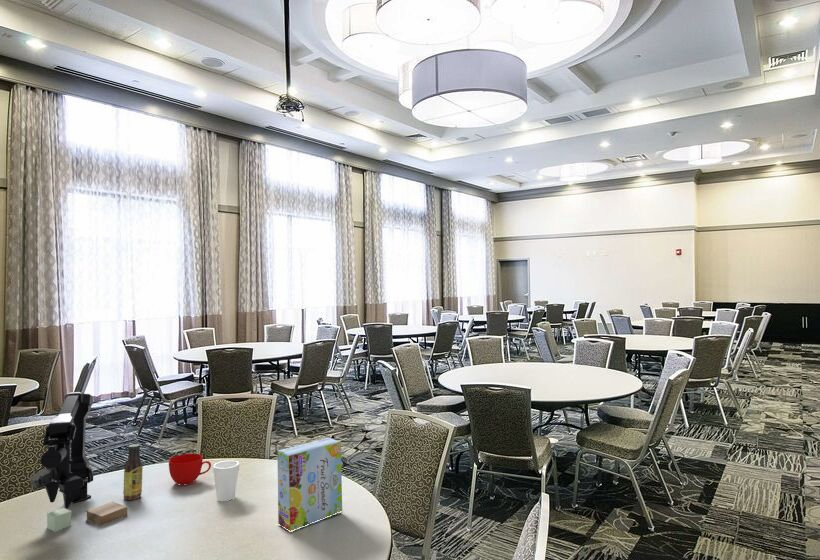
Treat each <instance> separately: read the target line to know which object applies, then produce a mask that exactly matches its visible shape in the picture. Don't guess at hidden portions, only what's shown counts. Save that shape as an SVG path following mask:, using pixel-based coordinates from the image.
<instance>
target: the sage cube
mask: <svg viewBox="0 0 820 560" xmlns="http://www.w3.org/2000/svg"><path fill="white" fill-rule="evenodd" d="M46 514H47V515H46V516H47V517H46V523H47V525H46V529H47V530H50V531H53V532H54V533H55V532H59V531H61V530H63V528H64V529H66V528H69V527H71V526H72V510H70V509H68V508H65V507H62V508H59V509H57V510H53V511H51V512H47V513H46Z"/></svg>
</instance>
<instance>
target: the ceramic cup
mask: <svg viewBox="0 0 820 560" xmlns="http://www.w3.org/2000/svg"><path fill="white" fill-rule="evenodd" d="M203 458H204V457H203V455H202V454H200V453H183V454H177V455H175V456H172V457H170V458H169V459H168V470H169V475H170V478H171V479H172V481H173V482H174V483H175V484H176V485H177V484H180V485H179V486H181V485H183V486H185V485H184V484H189V485H191V484H190V483H192V484H194V483H195V481H196V480H197V479H198V478H199V476H200V475H201V476H202V475H204V474H206V473H208V472H209V471H210V470H211V468H212V463H211V461H208V460H205V461H203ZM204 464H208V468H207V469H206V470H204V471H202V468H203V465H204ZM201 471H202V472H201ZM193 482H194V483H193Z"/></svg>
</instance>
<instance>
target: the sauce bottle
mask: <svg viewBox="0 0 820 560" xmlns="http://www.w3.org/2000/svg"><path fill="white" fill-rule="evenodd" d="M127 449H128V455H127V457H128V458H127V460H126V462H125V463H124V470H123V490H122V491H123V493H122V494H123V499H124V501H133V500H136V499H139V498H140V497H141V496H142V492H143V469H144V468H143V463H142V460H141V456H140V450H141V445H140V444H139V443H134V444H129V445H128V447H127Z"/></svg>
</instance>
